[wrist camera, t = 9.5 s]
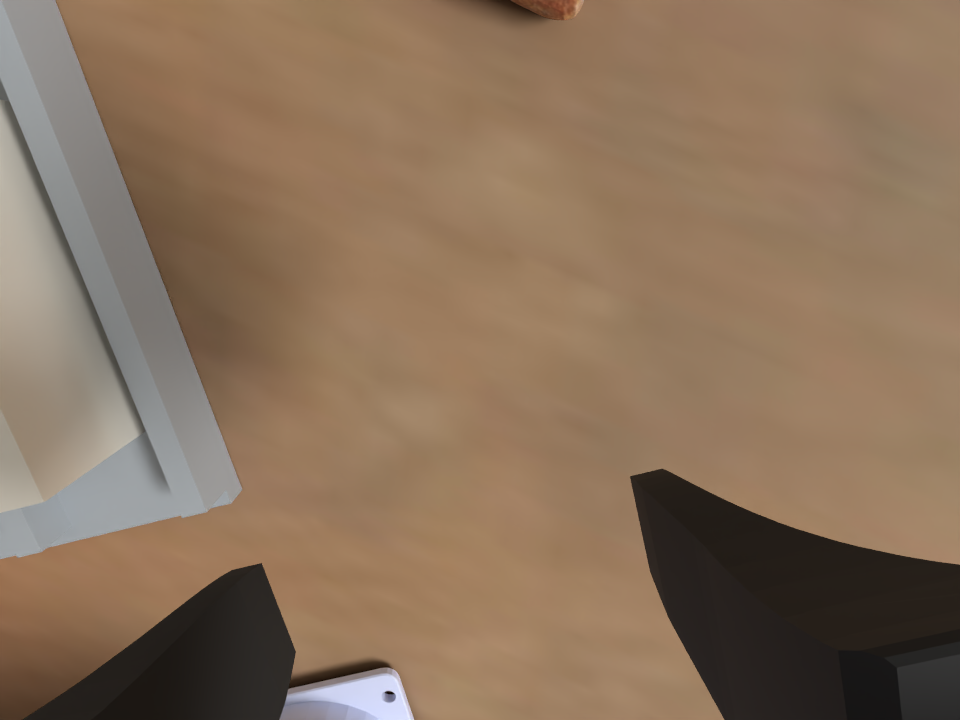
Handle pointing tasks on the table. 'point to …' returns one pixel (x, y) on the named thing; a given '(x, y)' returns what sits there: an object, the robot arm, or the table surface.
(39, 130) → the grey ridged tray
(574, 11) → the ceramic shard
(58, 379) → the white rectangular block
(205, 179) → the table surface
